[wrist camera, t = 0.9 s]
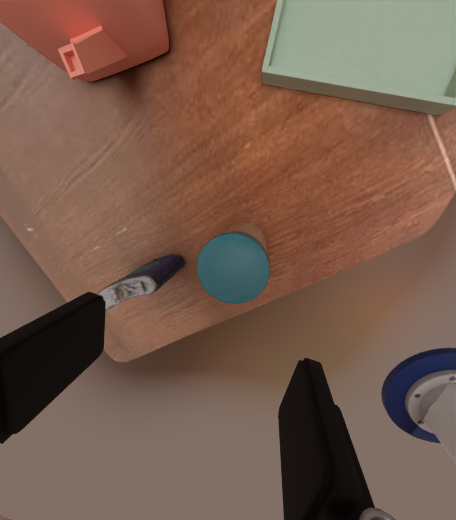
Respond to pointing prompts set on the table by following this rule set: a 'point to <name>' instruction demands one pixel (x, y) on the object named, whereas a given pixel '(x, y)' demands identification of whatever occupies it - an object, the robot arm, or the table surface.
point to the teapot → (90, 32)
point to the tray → (366, 51)
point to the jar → (250, 231)
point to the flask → (142, 280)
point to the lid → (233, 267)
